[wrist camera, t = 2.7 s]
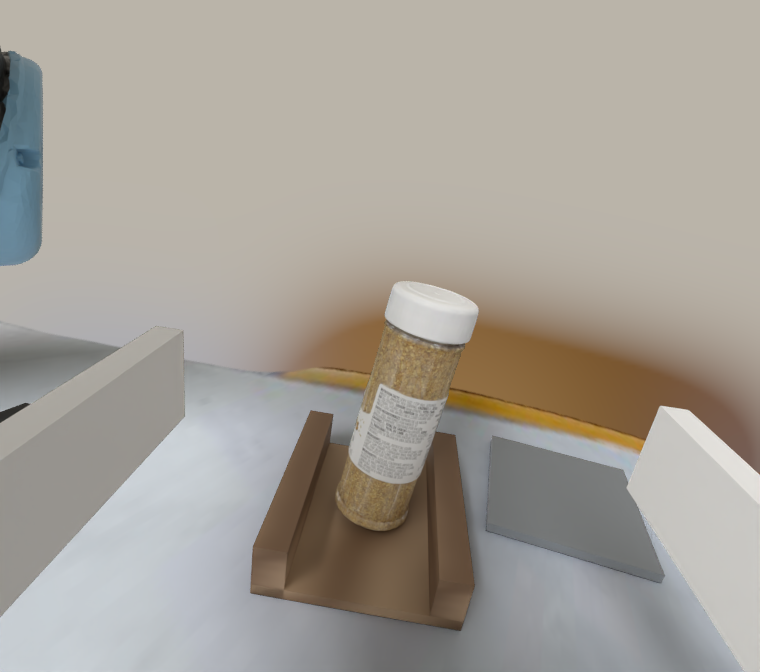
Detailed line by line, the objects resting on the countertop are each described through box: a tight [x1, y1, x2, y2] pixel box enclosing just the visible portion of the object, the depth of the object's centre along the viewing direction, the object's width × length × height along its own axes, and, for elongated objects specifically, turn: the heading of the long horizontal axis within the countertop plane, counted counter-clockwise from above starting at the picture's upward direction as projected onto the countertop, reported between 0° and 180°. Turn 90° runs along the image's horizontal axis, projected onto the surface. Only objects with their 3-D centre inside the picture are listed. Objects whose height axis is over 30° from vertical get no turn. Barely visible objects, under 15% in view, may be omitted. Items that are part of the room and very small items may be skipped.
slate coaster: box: [486, 436, 665, 583], centre depth 31 cm, size 10×10×1 cm
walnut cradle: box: [250, 411, 475, 631], centre depth 27 cm, size 10×12×3 cm
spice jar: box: [335, 281, 479, 531], centre depth 25 cm, size 5×5×14 cm
